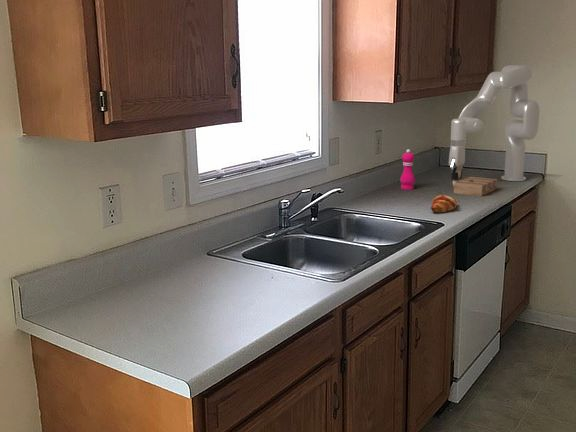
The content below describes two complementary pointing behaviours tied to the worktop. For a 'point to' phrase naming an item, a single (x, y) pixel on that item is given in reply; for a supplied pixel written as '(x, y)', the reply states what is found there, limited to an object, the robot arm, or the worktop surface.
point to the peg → (458, 174)
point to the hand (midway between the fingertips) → (456, 178)
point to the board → (475, 186)
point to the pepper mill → (407, 171)
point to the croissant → (443, 204)
